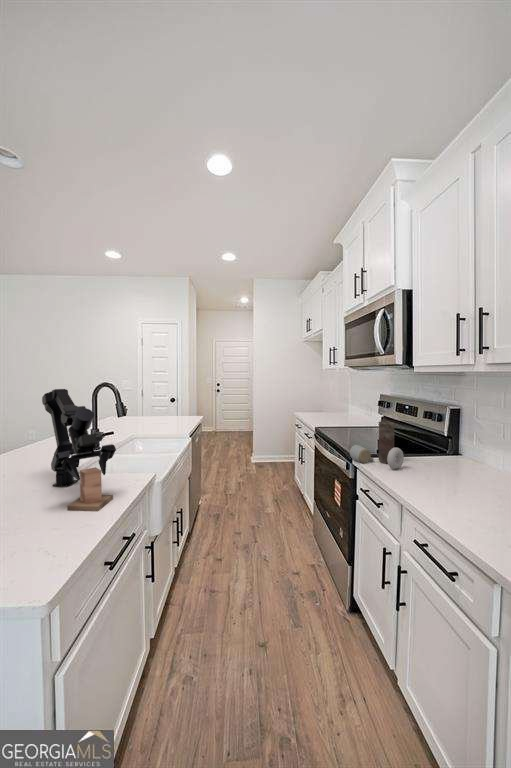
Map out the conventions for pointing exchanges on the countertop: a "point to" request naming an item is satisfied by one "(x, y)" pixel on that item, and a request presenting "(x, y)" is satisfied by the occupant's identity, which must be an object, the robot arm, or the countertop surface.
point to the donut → (394, 454)
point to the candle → (385, 440)
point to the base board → (94, 506)
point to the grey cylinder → (360, 454)
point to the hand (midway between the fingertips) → (92, 477)
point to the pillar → (90, 485)
